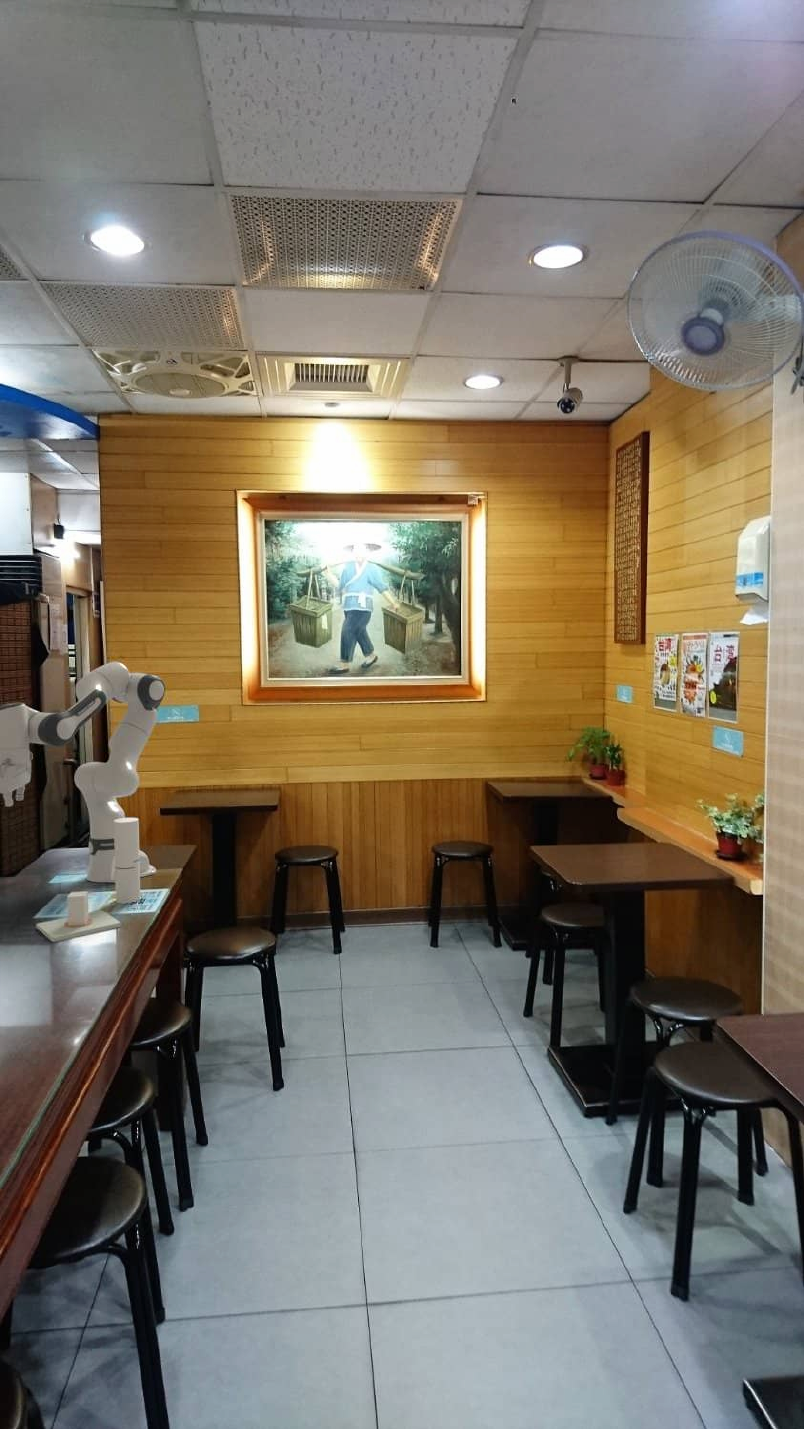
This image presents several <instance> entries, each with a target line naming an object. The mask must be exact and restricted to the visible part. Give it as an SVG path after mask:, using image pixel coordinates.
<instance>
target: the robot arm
mask: <svg viewBox="0 0 804 1429" xmlns="http://www.w3.org/2000/svg"><path fill="white" fill-rule="evenodd" d="M165 694H166V685H165V682H164V680H163V679H162V678H161V677H160V676H157V675H154V674H150V673H149V674H148V673H141V672H130V671H129V669H128V668H127V667H126V665H124V664H123V663H121V662H119V661H110V662H108V663H106V664H103V665H100V666H99V667H97V668H95V669H93V670H91V671H90V672H88V673H87V674H85V675H84V676H83V677H81V678H80V679H79V681H77V682H76V683H75V695H76V697H77V700H78V701H77V702H76V703H75V704H74V705H72V706H71V707H69V708H68V709H67V710H65V711H63V712H40V711H38V710H36V709H33V708H31V707H29V706H27V705H26V704H25V703H24V702H21V701H19V702H18V701H15V702H8V703H4V704H1V705H0V794H2V797H3V799H4V805H5V807H6V808H7V807H12V806H14V799H13V791H15V790H16V794H15V800H16V801H18V802H19V801H23V800H24V794H25V793H24V792H25V789H26V785H27V784H29V783H30V782H31V778H32V774H31V773H32V760H33V757H34V756H33V755H34V754H33V753H32V752H31V751H30V743H31V744H38V745H46V746H47V745H48V746H51V747H58V748H59V747H64V746H66V745H68V744H69V743H70V742H71V741H72V740H73V739H74V737H75V735H76V734H77V732H78V731H79V730H80V728H82V726H84V725H85V724H86V723H87V722H88V721H89V720H91V719H92V718H93V717H94V716H96V714H97V713H98V712H100V711H101V710H102V709H103V708H104V707H105V705H106V704H107V703H108V702H110V701H111V700H112V701H114V702H116V703H120V704H127V708H126V712H125V714H124V716H123V717H122V718H121V720H120V721H119V723H118V724H117V726H116V728H115V730H114V732H113V733H112V736H111V737H110V739H109V741H108V748H109V750H110V753H109V754H110V755H109V758H108V760H107V762H102V761H100V762H99V761H91V762H87V763H83V764H81V765H80V766H78V767H77V769H76V770H75V773H74V778H73V779H74V780H73V781H74V783H75V786H76V787H77V788H78V790H79V791H80V792H81V793H82V795H83V798H84V801H85V804H86V807H87V810H88V816H89V832H90V836H89V839H88V851H89V852H88V853H89V864H88V871H87V874H86V878H85V880H87V881H89V882H93V883H114V884H115V845H114V820H116V819H120V818H126V815H125V811H124V810H123V807H121V806H120V804H119V802H118V801H117V798H123V797H124V798H125V797H129V796H132V795H133V794H135V793H136V792H137V790H138V787H139V784H140V776H139V774H138V772H137V768H138V767H137V765H138V761H139V759H140V758H139V757H140V756H141V753H142V752H143V750H144V748H145V746H146V744H147V742H148V740H149V739H150V736H151V734H152V732H153V730H154V727H155V725H156V723H157V722H156V721H157V719H158V712H157V709H158V707H159V706H160V705H161V703H162V702H163V699H164V696H165ZM139 857H140V858H139V859H140V878H143V877H146V876H151V875H154V874H156V873H157V869H156V867H155V866H153V865H151V864H150V861H149V858H148V855H147V854H146V853H145V852H144V851H142V850H140V849H139Z"/></svg>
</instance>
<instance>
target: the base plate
mask: <svg viewBox="0 0 804 1429" xmlns="http://www.w3.org/2000/svg"><path fill="white" fill-rule="evenodd" d="M35 924H36V926H35V928H36V929H37V930H38V929H39V930H40V931H41V932H42V933H41V932H40V931H39V930H38V931H39V932H40V933H41V934H43V935H44V936H45V937H46V938H47V939H48V940H50V941H51V942H52V943H56V942H59V941H64V940H69V939H73V938H76V937H77V938H78V937H81V936H86V935H90V934H95V933H99V932H103V931H108V930H112V929H117V928H120V927H122V926H121V925H122V924H121V922H120V921H119V920H117V919H116V918H114V917H113V916H112V915H110V914H108V913H107V912H105V911H104V910H102V909H101V910H98V911H97V910H96V911H91V912H89V920H88V921H87V923H86V924H85V925H69V926H68V916H67V917H63V918H58V919H54V920H49V921H44V922H39V923H35Z"/></svg>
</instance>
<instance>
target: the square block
mask: <svg viewBox="0 0 804 1429" xmlns="http://www.w3.org/2000/svg"><path fill="white" fill-rule="evenodd" d="M66 898H67V899H66V900H67V901H66V902H67V917H68V926H69V925H85V924H86V923H87V921H88V920H89V913H90V911H89V891H87V890H86V891H70V893H69V894H68V895H67V897H66Z"/></svg>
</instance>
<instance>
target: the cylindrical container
mask: <svg viewBox="0 0 804 1429" xmlns="http://www.w3.org/2000/svg"><path fill="white" fill-rule="evenodd" d="M139 822H140V820H139V818H138V817H125V818H120V819H116V820H114V845H115V883H114V884H115V902H116V903H117V904H126V903H128V904H133V903H132V902H134V903H137V902H139V901H140V900H141V877H140V859H139V858H140V857H139V850H140V829H139V827H140V826H139V825H140V823H139ZM139 899H140V900H139ZM138 900H139V901H138ZM136 901H137V902H136Z"/></svg>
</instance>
